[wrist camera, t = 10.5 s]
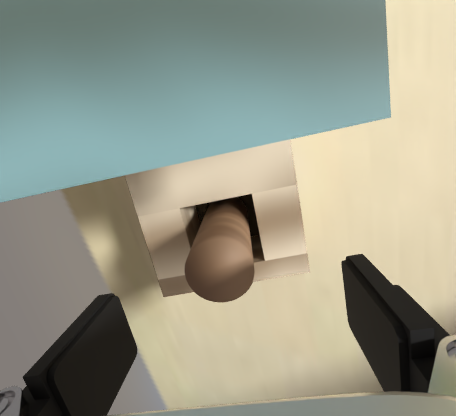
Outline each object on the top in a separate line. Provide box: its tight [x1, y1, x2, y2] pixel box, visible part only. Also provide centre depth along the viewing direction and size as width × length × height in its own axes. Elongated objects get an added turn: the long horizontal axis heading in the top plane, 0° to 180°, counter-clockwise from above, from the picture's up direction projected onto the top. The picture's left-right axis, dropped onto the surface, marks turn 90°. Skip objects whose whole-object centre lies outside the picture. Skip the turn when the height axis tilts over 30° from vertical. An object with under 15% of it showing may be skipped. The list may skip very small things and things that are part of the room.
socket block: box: [0, 0, 391, 297], centre depth 15 cm, size 16×12×15 cm
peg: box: [184, 197, 255, 302], centre depth 18 cm, size 4×4×10 cm
